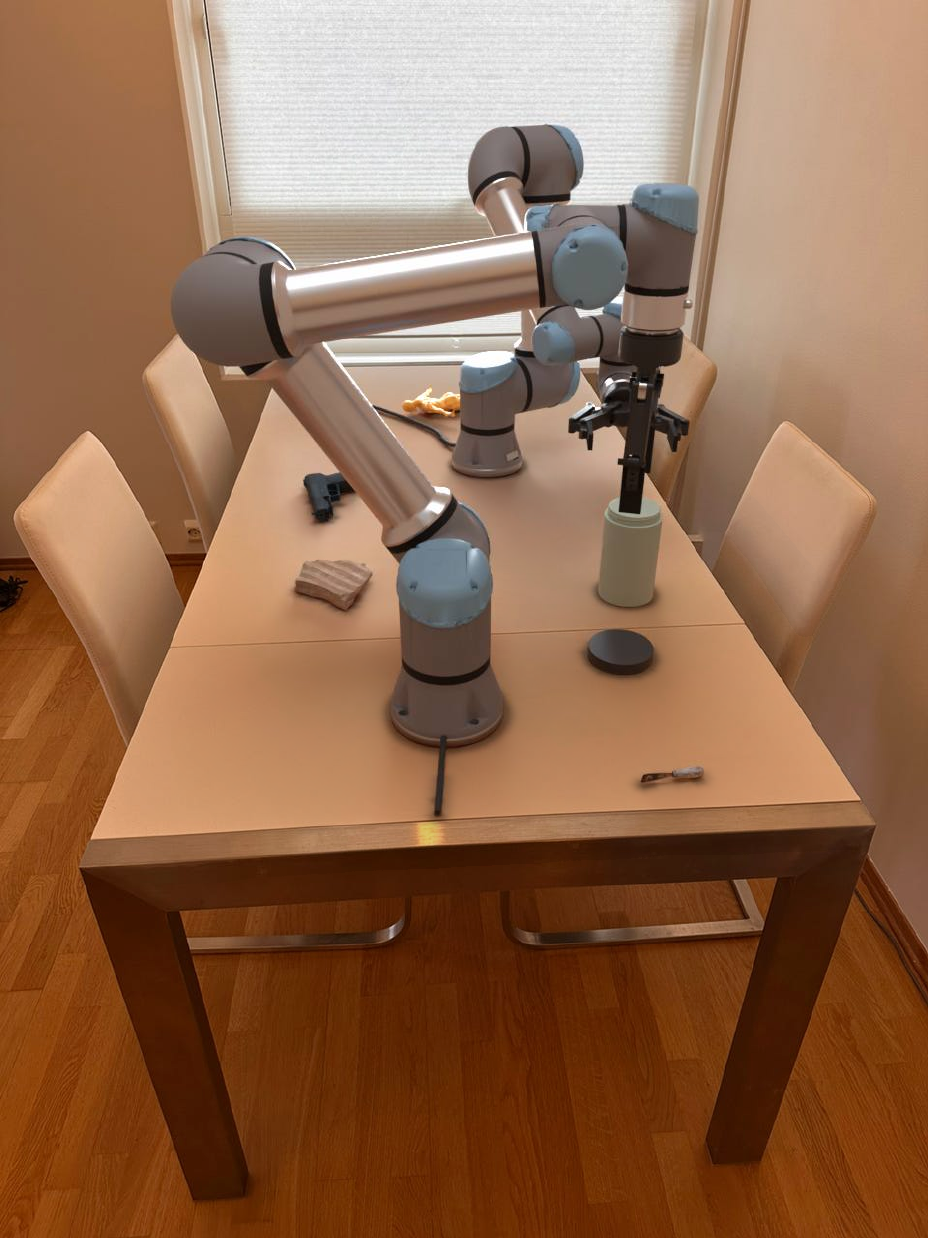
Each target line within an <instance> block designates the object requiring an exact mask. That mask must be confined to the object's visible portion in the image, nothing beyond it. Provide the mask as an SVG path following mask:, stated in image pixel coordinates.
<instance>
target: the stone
mask: <svg viewBox="0 0 928 1238" xmlns="http://www.w3.org/2000/svg"><path fill="white" fill-rule="evenodd" d="M373 575H374V574H373V571H372V570H371V569H370V568H368V567H367V564H366V562H365V563H359V562H357V561H353V560H349V559H341V560H340V559H339V560H328V559H316V560H314V561H313V560H311V561H309V560H306V561H304V562H303V563H302V566H301V568H300V572H299V575H298V577H297V578H296V579H295V581H294V585H295V586H294V591H295V592H299V593H301V594H305V595H307V596H310V597H312V598H320V599H324V600H325V601H328V602H329V603H331V604H332V605H334V606H335V607H338V608H339V609H341V610H344V611H347V610H348V608H349V607H351V606H352V605H353V604H354V601H355V598H356V596H357V595H358V594H359V593H360V592H361V590H362V589H364V588H365V587H366V586H367V585H368V583H369V582H370V580H371V579H372V576H373Z"/></svg>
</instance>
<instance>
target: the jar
mask: <svg viewBox="0 0 928 1238" xmlns="http://www.w3.org/2000/svg"><path fill="white" fill-rule="evenodd" d="M619 502H620V496H618V497H616V498H614V499H612V500H611V501H610V502H609V503H608V507H607V509H606V510H605V512H604V518H603V530H602V539H601V540H602V541H601V550H600V551H601V553H600V563H599V565H600V567H599V576H598V586H597V593H598V596H599V598H601V600H602V601H605V602H606V603H609V604H611V605H613V606H617V607H622V608H637V607H642V606H644V605H646V604H649V603H650V602H651V601H652V600H653V598H654V592H655V591H654V590H655V583H656V575H657V568H658V559H659V550H660V543H661V535H662V527H663V520H664V519H663V518H664V517H663V515H662V513H661V512H662V508H661V505H660V504H659V503H658V502H656V501H654V500H653V499H650V498H646V497H644V496H642V505H641V513H640V514H631V513H621V512H619Z"/></svg>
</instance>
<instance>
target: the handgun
mask: <svg viewBox="0 0 928 1238" xmlns="http://www.w3.org/2000/svg"><path fill="white" fill-rule="evenodd" d="M302 482H303V486H304V488H305V489H306V492H307V494H308V498H309V502H310V505H311V507H312V510H313V511H312V512H311V516H315V520H316V521H318V522H321V523H323V522H328V521H329V520H330V516H331V518H333V517H334V506H333V503H337V502H339V501H341V495H344V494H348V493H351V492H352V493H353V492H355V490H354V489H353V488H352V487H351V485H350V484H349V483H348V482H347V480H346V479H345V478H344V477H343V475H342V474H341V473H340V472H339V471H338V472H335V473H332V474H323V472H313V473H308V474H306V475H305V476H304V479H302Z"/></svg>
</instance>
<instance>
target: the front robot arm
mask: <svg viewBox="0 0 928 1238" xmlns="http://www.w3.org/2000/svg"><path fill="white" fill-rule="evenodd" d="M699 204H700V196H699V192H698V191H697V190H696V189H695V188H694V187H692V186H690V185H687V184H682V183H674V182H673V183H671V182H654V183H640V184H638V185H636V186H635V187H634V188H633V189H632V194H631V198H630V199H629V203H622V204H617V205H605V204H604V205H603V204H602V205H601V204H600V205H598V204H597V205H595V204H594V205H592V204H568V205H559V204H552V205H548V206H534V207H531V208H530V209H529V210H528V211H527V213H526V216H525V225H524V232H523V233H517V234H510V235H504V236H498V237H495V236H492V237H487V238H486V237H485V238H481V239H475V240H474V239H473V240H468V241H467V240H466V241H462V242H456V243H450V244H449V243H448V244H443V245H437V246H429V247H424V248H418V249H413V250H406V251H400V252H395V253H387V254H382V255H376V256H369V257H361V258H358V259H357V258H356V259H349V260H344V261H339V262H338V261H337V262H334V263H332V262H331V263H326V264H322V265H314V266H307V267H302V268H296V266H295V265H294V263H293V262H292V260H291V259H290V258H289V256H288V255H287V254H286V253H285V252H284V251H283V250H282V249H281V248H280V247H279V246H277V245H275V244H274V243H272V242H270V241H268V240H266V239H264V238H260V237H256V236H236V237H233V238H232V237H231V238H227V239H225V240H221V241H220V242H218V243H217V244H215V245H214V246H212V247H210V248H209V249H208V251H206V253H204V254H202V255H201V256H200V257H199V258H197V259H196V260H195V261H193V262H191V263H190V264H189V265H188V266H186V268H185V269H183V270H182V272H181V273H180V275H179V276H178V277H177V279H176V281H175V283H174V285H173V288H172V291H171V297H170V315H171V319H172V323H173V326H174V329H175V331H176V333H177V335H178V336H179V338H180V340H181V341H182V343H183V344H184V345H185V347H187V348H188V349H189V351H191V352H192V353H193V354H195V355H196V356H197V357H198V358H200V359H202V360H204V361H206V362H208V363H210V364H213V365H216V366H221V367H227V368H231V367H234V368H235V367H237V368H239V369H240V370H241V372H242V373H243V374H244V375H245V376H246V377H247V378H248V379H251V380H258V381H264V382H266V383H267V384H268V385H269V386H270V387H271V388H272V390H273V391H274V392H275V393H276V395H277V396H278V397H279V398H280V400H281V401H282V402H283V404H285V406H286V407H287V408H288V410H289V411H290V412H291V413H292V415H293V416H294V417H295V419H297V421H298V422H299V423H300V425H301V426H302V427H303V428H304V429H305V431H306V433H308V435H309V436H310V437H311V438H312V440H313V441H314V442H315V443H316V445H317V446H318V448H320V449H321V451H322V452H323V453H324V454H325V456H326V457H327V458H328V459H329V461H330V462H331V463H332V465H333V466H334V467H335V468H336V470H337V471H338V473H339V472H340V473H341V474H342V475H343V477H344V478H345V479H346V480H347V482H348V483H349V484H350V485H351V487H352V488H353V489H354V490H355V491H354V492H355V493H356V494H357V496H358V497H359V498H360V499H361V500H362V502H363V503H364V504H365V506H366V507H367V508H368V509H369V510H370V512H371V513H372V515H374V517H375V518H376V519H377V520H378V522H379V523H380V525H382V529H381V536H380V541H381V542H382V545H383V546H384V547H385V548H386V549H387V550H388V552H389V554H391V555H392V557H393V558H394V559H395V561H396V562H397V563H398V568H397V575H396V581H395V589H396V594H397V598H398V611H399V612H398V613H399V615H398V616H399V630H400V631H399V632H400V634H399V635H400V655H401V667H400V669H399V672H398V675H397V678H396V681H395V684H394V687H393V690H392V693H391V696H390V718H391V721H392V724H393V725H394V727H395V728H396V729H397V731H398V732H399V733H400V734H402V735H403V736H404V737H406V738H407V739H409V740H411V741H413V742H415V743H417V744H420V745H421V744H422V745H425V746H430V747H437V748H439V750H438V751H439V753H438V763H437V764H438V765H437V779H436V791H435V801H434V811H433V812H434V815H436V816H439V815H441V814H442V807H443V806H442V805H443V793H444V781H445V769H446V768H445V767H446V766H445V765H446V755H447V754H446V753H447V751H446V750H447V748H454V747H455V748H457V747H463V746H467V745H471V744H473V743H476V742H480V741H481V740H483V739H485V738H486V737H488V736H489V735H491V734H492V733H493V732H494V731H495V730H496V729H498V727H499V726H500V724H501V722H502V720H503V717H504V697H503V693H502V690H501V687H500V685H499V682H498V679H497V677H496V674H495V672H494V668H493V666H492V664H491V654H492V653H491V651H492V649H491V648H492V647H491V645H492V595H493V589H494V578H493V573H492V569H491V561H490V560H491V557H490V556H491V541H490V537H489V533H488V530H487V529H486V526H485V523H484V521H483V520H482V518H481V517H480V515H478V513H477V512H476V511H475V510H474V509H473V508H471V507H470V506H468V505H467V504H465V503H463V502H461V501H458V499H457V498H456V497H455V496H454V494H453V493H452V492H451V490H450V489H449V488H447V487H440V486H433V485H432V483H431V482H430V481H429V479H428V478H427V476H426V475H425V474H424V473H423V471H422V470H421V469H420V468H419V465H417V463H416V462H415V461H414V460H413V458H412V457H411V456H410V454H409V453H408V452H407V450H406V448H405V447H404V446H403V444H401V442H400V440H398V438H397V437H396V435H395V434H394V433H393V431H392V430H391V429H390V427H389V426H388V425H387V423H386V422H385V421H384V420H383V418H382V417H381V416H380V414H379V413H378V412H377V410H376V409H374V408H373V406H372V405H371V404H372V403H371V402H370V401H369V400H368V398H367V397H366V396H365V394H364V392H362V390H361V389H360V387H359V386H358V385H357V384H356V382H355V380H354V379H353V378H352V377H351V375H350V374H349V373H348V372H347V370H346V369H345V367H344V366H343V364H342V363H341V362H340V361H339V360H338V358H337V357H336V355H335V354H334V352H332V350H331V349H330V348H329V346H328V345H327V343H329V342H335V341H340V340H348V339H353V338H360V337H365V336H372V335H373V336H374V335H379V334H384V333H391V332H397V331H403V330H404V331H405V330H410V329H417V328H423V327H430V326H435V325H443V324H449V323H454V322H460V321H467V320H473V319H480V318H486V317H487V318H488V317H491V316H492V317H493V316H499V315H505V314H512V313H518V312H521V311H525V310H531V309H538V308H544V307H554V306H560V305H567V304H568V305H570V306H572V307H575V309H578V310H582V311H594V310H599V309H601V308H602V309H603V307H604V306H606V305H607V304H609V303H610V302H612V301H613V300H614V299H615V298H616V297H619V295H620V294H621V292H622V297H623V301H622V313H621V323H622V324H623V325H624V327H623V328H622V329H621V331H620V341H619V353H618V355H619V358H620V359H621V360H622V361H623V362H625V363H627V364H633V365H635V366H636V367H637V372H635V371H633V372H632V377H630V382H629V392H630V396H629V403H628V411H629V418H628V426H627V427H626V435H625V442H624V450H623V456H622V458H619V457H618V458H617V463H616V464H617V466H622V469H621V470H622V472H621V484H620V490H619V491H620V493H619V497H620V502H619V512H621V513H631V514H640V513H641V505H642V497H643V496H644V484H645V477H646V476H645V475H646V474H651V471H652V470H651V469H652V462H653V454H654V453H653V452H654V444H655V435H656V430H655V427H656V426H651V424H654V425H661V418H662V417H660V416H656V415H657V413H658V409H657V407H658V404H659V399H660V398H661V394H662V389H663V387H664V382H665V373H664V372H663V373H661V371H662V367H664V368H667V367H671V366H674V365H676V364H678V363H679V361H681V358H682V353H683V344H684V343H683V342H684V337H685V333H684V331H683V330H682V327H683V326H684V325H685V324H686V315H687V309H689V310H690V309H692V308H693V303H694V302H693V300H691V299H687V298H688V297H689V290H690V281H691V274H692V267H693V259H694V253H695V246H696V239H697V235H698V232H699V231H698V222H699V221H698V218H699ZM622 290H623V291H622Z"/></svg>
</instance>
